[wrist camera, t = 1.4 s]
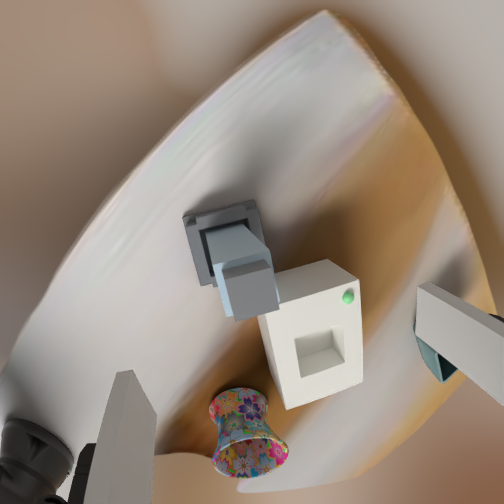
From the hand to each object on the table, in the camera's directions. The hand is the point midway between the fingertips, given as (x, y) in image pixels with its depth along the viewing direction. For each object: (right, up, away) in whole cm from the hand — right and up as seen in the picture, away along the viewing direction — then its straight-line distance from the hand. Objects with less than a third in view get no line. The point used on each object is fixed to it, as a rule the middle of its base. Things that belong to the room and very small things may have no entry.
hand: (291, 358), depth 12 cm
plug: (-4, +5, +21) cm, 22 cm away
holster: (-5, +5, +22) cm, 23 cm away
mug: (-4, -19, +29) cm, 35 cm away
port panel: (+4, -4, +26) cm, 27 cm away
